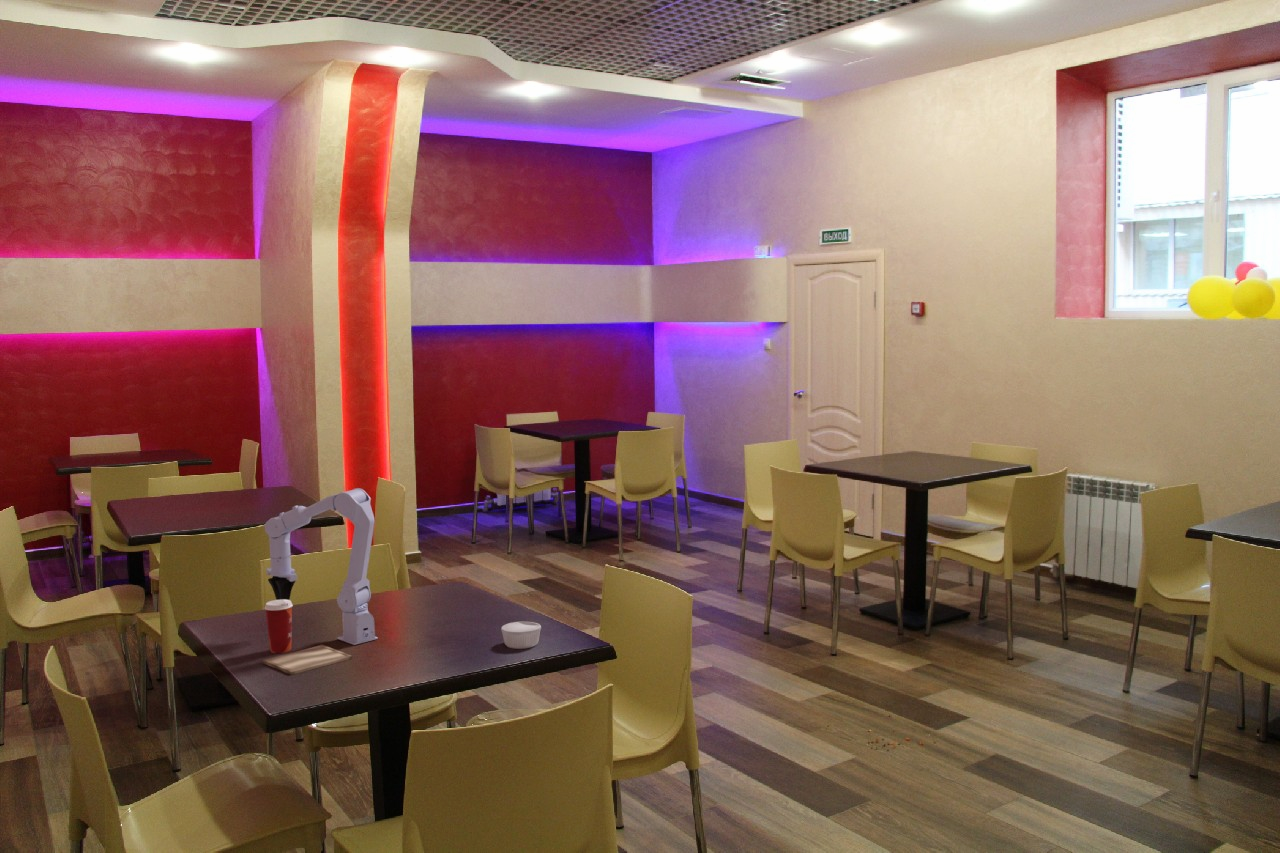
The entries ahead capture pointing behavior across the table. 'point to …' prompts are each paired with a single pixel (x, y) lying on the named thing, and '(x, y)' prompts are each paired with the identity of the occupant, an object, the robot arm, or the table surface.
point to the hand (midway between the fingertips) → (283, 601)
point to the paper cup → (279, 625)
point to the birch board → (307, 659)
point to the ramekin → (521, 634)
